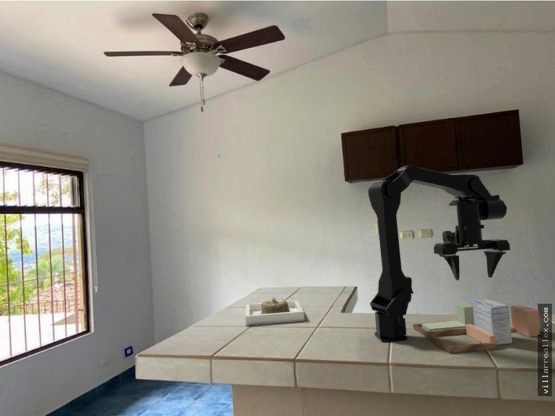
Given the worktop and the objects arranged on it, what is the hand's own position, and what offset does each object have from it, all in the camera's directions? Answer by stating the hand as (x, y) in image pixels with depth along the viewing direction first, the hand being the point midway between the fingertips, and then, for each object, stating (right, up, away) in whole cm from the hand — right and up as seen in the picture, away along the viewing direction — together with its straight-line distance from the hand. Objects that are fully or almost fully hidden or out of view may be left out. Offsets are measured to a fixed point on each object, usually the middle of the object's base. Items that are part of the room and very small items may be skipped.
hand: (473, 278), depth 108 cm
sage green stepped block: (-9, -13, -5) cm, 16 cm away
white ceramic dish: (-55, -16, +23) cm, 61 cm away
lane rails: (-11, -12, -11) cm, 20 cm away
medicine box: (-2, -12, -14) cm, 19 cm away
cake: (-54, -16, +25) cm, 62 cm away
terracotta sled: (+2, -12, -14) cm, 18 cm away
